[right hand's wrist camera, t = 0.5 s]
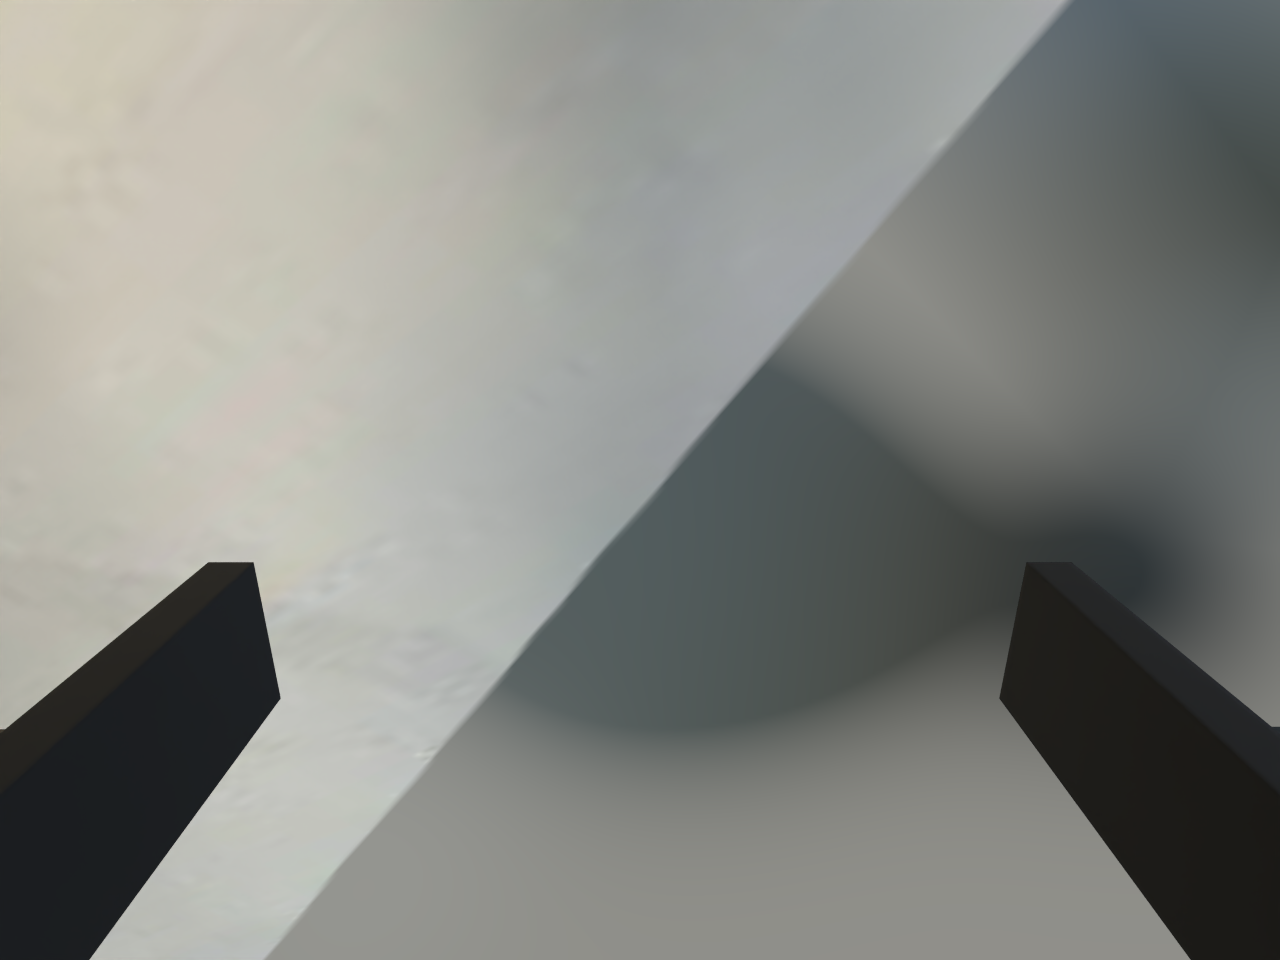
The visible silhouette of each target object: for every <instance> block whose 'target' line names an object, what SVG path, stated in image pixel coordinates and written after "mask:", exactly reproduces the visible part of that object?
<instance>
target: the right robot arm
mask: <svg viewBox="0 0 1280 960" xmlns="http://www.w3.org/2000/svg"><path fill="white" fill-rule="evenodd" d="M280 699H281V698H280V693H279V688H278V683H277V678H276V673H275V668H274V663H273V658H272V653H271V648H270V643H269V638H268V633H267V628H266V623H265V618H264V613H263V608H262V602H261V597H260V592H259V587H258V582H257V577H256V572H255V567H254V562H208V563H207V564H206V565H205V566H203V567H202V568H201V569H200V570H199V571H197V572H196V573H195V574H194V575H192V576H191V577H190V578H189V579H188V580H186V581H185V582H184V583H183V584H182V585H180V586H179V587H178V588H177V589H175V590H174V591H173V592H172V593H171V594H169V595H168V596H167V597H166V598H165V599H163V600H162V601H161V602H160V603H158V604H157V605H156V606H155V607H154V608H152V609H151V610H150V611H149V612H147V613H146V614H145V615H144V616H143V617H141V618H140V619H139V620H138V621H137V622H135V623H134V624H133V625H132V626H130V627H129V628H128V629H127V630H126V631H124V632H123V633H122V634H121V635H120V636H118V637H117V638H116V639H115V640H113V641H112V642H111V643H110V644H109V645H107V646H106V647H105V648H104V649H102V650H101V651H100V652H99V653H98V654H96V655H95V656H94V657H93V658H92V659H90V660H89V661H88V662H87V663H85V664H84V665H83V666H82V667H81V668H79V669H78V670H77V671H76V672H75V673H73V674H72V675H71V676H70V677H68V678H67V679H66V680H65V681H64V682H62V683H61V684H60V685H59V686H57V687H56V688H55V689H54V690H53V691H51V692H50V693H49V694H48V695H47V696H45V697H44V698H43V699H42V700H40V701H39V702H38V703H37V704H36V705H34V706H33V707H32V708H31V709H30V710H28V711H27V712H26V713H25V714H23V715H22V716H21V717H20V718H19V719H17V720H16V721H15V722H14V723H12V724H11V725H10V726H9V727H8V728H6V729H0V960H89V959H90V958H91V957H92V955H93V954H94V953H95V951H96V950H97V948H98V947H99V946H100V944H101V943H102V942H103V940H104V939H105V938H106V936H107V935H108V933H109V932H110V931H111V929H112V928H113V927H114V925H115V924H116V922H117V921H118V920H119V918H120V917H121V916H122V914H123V913H124V912H125V910H126V909H127V907H128V906H129V905H130V903H131V902H132V901H133V899H134V898H135V897H136V895H137V894H138V892H139V891H140V890H141V888H142V887H143V886H144V884H145V883H146V882H147V880H148V879H149V877H150V876H151V875H152V873H153V872H154V871H155V869H156V868H157V866H158V865H159V864H160V862H161V861H162V860H163V858H164V857H165V856H166V854H167V853H168V851H169V850H170V849H171V847H172V846H173V845H174V843H175V842H176V841H177V839H178V838H179V836H180V835H181V834H182V832H183V831H184V830H185V828H186V827H187V826H188V824H189V823H190V821H191V820H192V819H193V817H194V816H195V815H196V813H197V812H198V810H199V809H200V808H201V806H202V805H203V804H204V802H205V801H206V800H207V798H208V797H209V795H210V794H211V793H212V791H213V790H214V789H215V787H216V786H217V785H218V783H219V782H220V780H221V779H222V778H223V776H224V775H225V774H226V772H227V771H228V770H229V768H230V767H231V765H232V764H233V763H234V761H235V760H236V759H237V757H238V756H239V754H240V753H241V752H242V750H243V749H244V748H245V746H246V745H247V744H248V742H249V741H250V739H251V738H252V737H253V735H254V734H255V733H256V731H257V730H258V729H259V727H260V726H261V724H262V723H263V722H264V720H265V719H266V718H267V716H268V715H269V714H270V712H271V711H272V709H273V708H274V707H275V705H276V704H277V703H278V701H279V700H280ZM1000 700H1001V701H1002V703H1003V704H1004V705H1005V707H1006V708H1007V709H1008V711H1009V712H1010V713H1011V715H1012V716H1013V717H1014V719H1015V720H1016V722H1017V723H1018V724H1019V726H1020V727H1021V729H1022V730H1023V731H1024V733H1025V734H1026V735H1027V737H1028V738H1029V739H1030V741H1031V742H1032V744H1033V745H1034V746H1035V748H1036V749H1037V750H1038V752H1039V753H1040V754H1041V756H1042V757H1043V759H1044V760H1045V761H1046V763H1047V764H1048V765H1049V767H1050V768H1051V769H1052V771H1053V772H1054V774H1055V775H1056V776H1057V778H1058V779H1059V780H1060V782H1061V783H1062V785H1063V786H1064V787H1065V789H1066V790H1067V791H1068V793H1069V794H1070V795H1071V797H1072V798H1073V800H1074V801H1075V802H1076V804H1077V805H1078V806H1079V808H1080V809H1081V810H1082V812H1083V813H1084V814H1085V816H1086V817H1087V819H1088V820H1089V821H1090V823H1091V824H1092V825H1093V827H1094V828H1095V830H1096V831H1097V832H1098V834H1099V835H1100V836H1101V838H1102V839H1103V841H1104V842H1105V843H1106V845H1107V846H1108V847H1109V849H1110V850H1111V851H1112V853H1113V854H1114V855H1115V857H1116V858H1117V860H1118V861H1119V862H1120V864H1121V865H1122V866H1123V868H1124V869H1125V871H1126V872H1127V873H1128V875H1129V876H1130V877H1131V879H1132V880H1133V882H1134V883H1135V884H1136V886H1137V887H1138V888H1139V890H1140V891H1141V892H1142V894H1143V895H1144V897H1145V898H1146V899H1147V901H1148V902H1149V903H1150V905H1151V906H1152V907H1153V909H1154V910H1155V912H1156V913H1157V914H1158V916H1159V917H1160V918H1161V920H1162V921H1163V922H1164V924H1165V925H1166V927H1167V928H1168V929H1169V931H1170V932H1171V933H1172V935H1173V936H1174V938H1175V939H1176V940H1177V942H1178V943H1179V944H1180V946H1181V947H1182V948H1183V950H1184V951H1185V952H1186V954H1187V955H1188V957H1189V958H1190V959H1191V960H1280V727H1271V726H1270V725H1269V724H1268V723H1266V722H1265V721H1264V720H1263V719H1261V718H1260V717H1259V716H1258V715H1257V714H1255V713H1254V712H1253V711H1252V710H1250V709H1249V708H1248V707H1247V706H1246V705H1244V704H1243V703H1242V702H1241V701H1240V700H1238V699H1237V698H1236V697H1235V696H1233V695H1232V694H1231V693H1230V692H1229V691H1227V690H1226V689H1225V688H1224V687H1223V686H1221V685H1220V684H1219V683H1218V682H1216V681H1215V680H1214V679H1213V678H1212V677H1210V676H1209V675H1208V674H1207V673H1205V672H1204V671H1203V670H1202V669H1201V668H1199V667H1198V666H1197V665H1196V664H1195V663H1193V662H1192V661H1191V660H1190V659H1188V658H1187V657H1186V656H1185V655H1184V654H1182V653H1181V652H1180V651H1179V650H1178V649H1176V648H1175V647H1174V646H1173V645H1171V644H1170V643H1169V642H1168V641H1167V640H1165V639H1164V638H1163V637H1162V636H1160V635H1159V634H1158V633H1157V632H1156V631H1154V630H1153V629H1152V628H1151V627H1150V626H1148V625H1147V624H1146V623H1145V622H1143V621H1142V620H1141V619H1140V618H1139V617H1137V616H1136V615H1135V614H1134V613H1133V612H1131V611H1130V610H1129V609H1128V608H1126V607H1125V606H1124V605H1123V604H1122V603H1120V602H1119V601H1118V600H1117V599H1115V598H1114V597H1113V596H1112V595H1111V594H1109V593H1108V592H1107V591H1106V590H1104V589H1103V588H1102V587H1101V586H1100V585H1098V584H1097V583H1096V582H1095V581H1094V580H1092V579H1091V578H1090V577H1089V576H1088V575H1086V574H1085V573H1084V572H1083V571H1081V570H1080V569H1079V568H1078V567H1077V566H1075V565H1074V564H1073V563H1071V562H1027V563H1026V567H1025V572H1024V577H1023V582H1022V587H1021V592H1020V597H1019V602H1018V608H1017V613H1016V618H1015V623H1014V628H1013V633H1012V638H1011V643H1010V648H1009V653H1008V658H1007V663H1006V668H1005V673H1004V678H1003V683H1002V688H1001V693H1000Z"/></svg>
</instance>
